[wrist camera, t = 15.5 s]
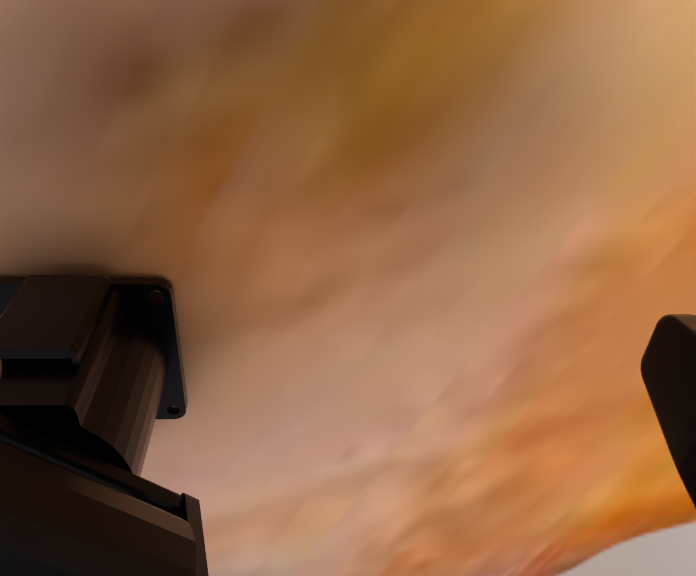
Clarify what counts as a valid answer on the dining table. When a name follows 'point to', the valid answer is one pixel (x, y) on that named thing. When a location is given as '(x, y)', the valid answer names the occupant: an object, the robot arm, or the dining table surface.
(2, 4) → the dining table surface
